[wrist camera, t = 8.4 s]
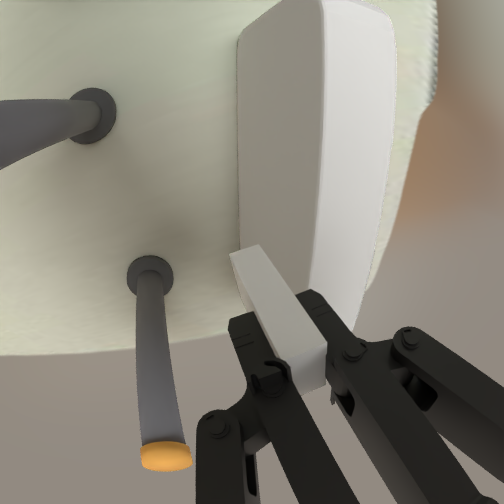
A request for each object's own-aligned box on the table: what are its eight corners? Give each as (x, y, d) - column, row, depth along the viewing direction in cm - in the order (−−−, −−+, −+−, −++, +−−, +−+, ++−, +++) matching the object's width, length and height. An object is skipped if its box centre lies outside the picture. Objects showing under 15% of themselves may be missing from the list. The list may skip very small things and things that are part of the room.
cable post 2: (119, 264, 33) (108, 457, 13) (163, 249, 34) (191, 443, 14) (138, 300, 36) (150, 478, 16) (179, 286, 37) (219, 465, 17)
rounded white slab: (292, 254, 40) (366, 343, 25) (239, 263, 38) (295, 367, 23) (300, 40, 26) (417, 12, 11) (236, 34, 24) (321, -27, 9)
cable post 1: (59, 102, 21) (-117, 132, 1) (109, 79, 22) (-24, 24, 2) (73, 151, 25) (-75, 271, 5) (122, 130, 25) (15, 208, 5)
